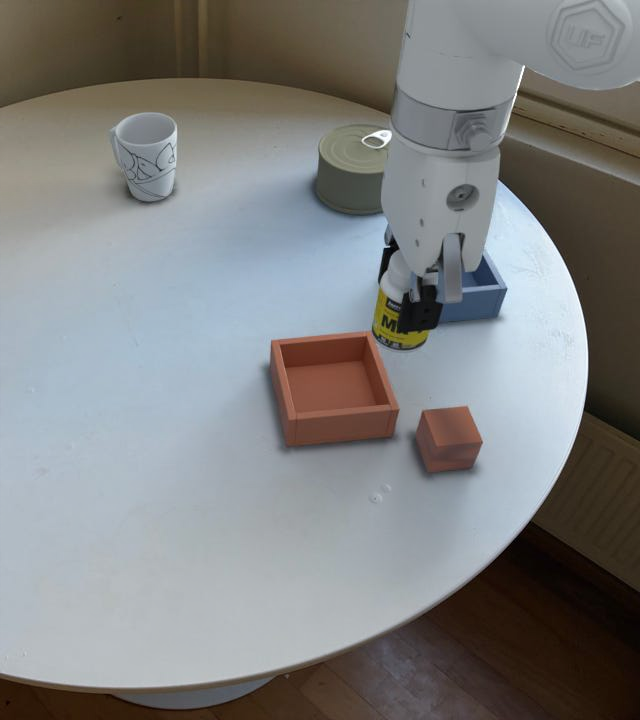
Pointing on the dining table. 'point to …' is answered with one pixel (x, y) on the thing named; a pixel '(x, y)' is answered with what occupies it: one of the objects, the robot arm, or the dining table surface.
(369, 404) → the terracotta bin
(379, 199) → the can
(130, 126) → the mug
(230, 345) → the dining table surface
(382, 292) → the supplement bottle
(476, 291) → the blue bin
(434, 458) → the block
